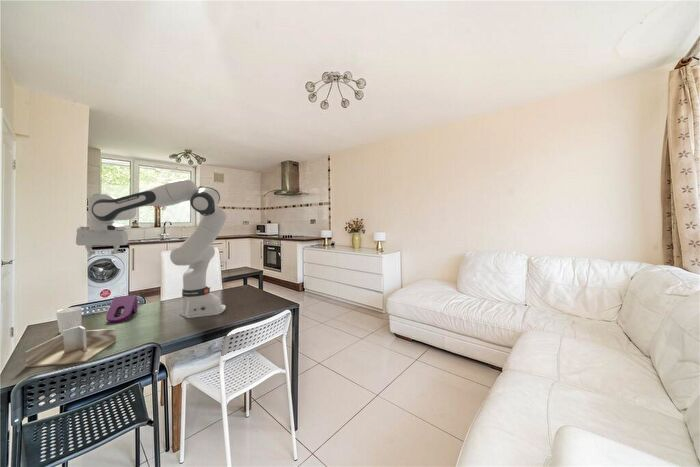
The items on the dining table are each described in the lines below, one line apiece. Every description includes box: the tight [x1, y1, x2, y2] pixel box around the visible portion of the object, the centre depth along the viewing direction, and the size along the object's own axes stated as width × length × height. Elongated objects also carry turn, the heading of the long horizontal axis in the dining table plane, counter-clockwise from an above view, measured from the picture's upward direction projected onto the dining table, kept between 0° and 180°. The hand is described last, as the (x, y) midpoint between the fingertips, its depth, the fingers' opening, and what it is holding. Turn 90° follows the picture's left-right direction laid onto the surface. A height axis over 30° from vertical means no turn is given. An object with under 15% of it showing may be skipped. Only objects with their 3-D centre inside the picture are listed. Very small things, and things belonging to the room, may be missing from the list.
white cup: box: [55, 306, 83, 334], centre depth 117 cm, size 8×8×10 cm
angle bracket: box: [63, 325, 87, 353], centre depth 97 cm, size 5×5×9 cm
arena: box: [23, 328, 117, 368], centre depth 98 cm, size 18×16×6 cm
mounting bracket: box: [105, 294, 138, 324], centre depth 134 cm, size 10×8×18 cm
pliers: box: [91, 305, 111, 314], centre depth 145 cm, size 10×2×15 cm
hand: (103, 254), depth 124 cm, fingers open, 8 cm apart
